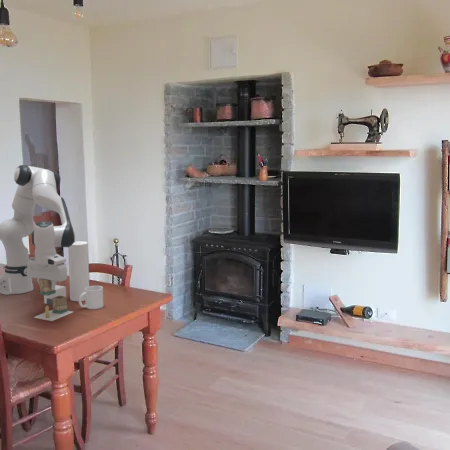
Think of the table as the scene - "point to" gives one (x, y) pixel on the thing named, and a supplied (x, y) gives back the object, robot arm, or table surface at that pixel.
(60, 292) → the white box
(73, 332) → the table surface
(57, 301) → the sleeve seated
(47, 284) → the sleeve
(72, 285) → the cylinder container
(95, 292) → the mug
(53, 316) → the pin board
